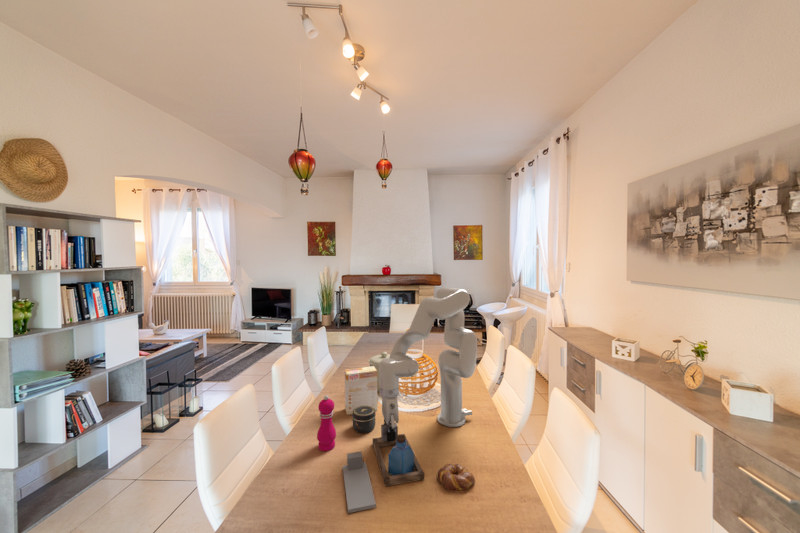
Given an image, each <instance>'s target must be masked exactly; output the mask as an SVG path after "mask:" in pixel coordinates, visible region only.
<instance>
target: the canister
mask: <svg viewBox="0 0 800 533" xmlns="http://www.w3.org/2000/svg"><path fill="white" fill-rule="evenodd" d="M390 354H391V353H390ZM390 354H388V352H387V351H382V352H381V354H376V355H374V356H371V357H370V358H368V364H369V367H371V366H374V367H375V369H376V370H377V393H380V368H379V366H380V361H381V360H383V359H386V358H389V357H390Z"/></svg>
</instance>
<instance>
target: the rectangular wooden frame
mask: <svg viewBox="0 0 800 533" xmlns="http://www.w3.org/2000/svg"><path fill="white" fill-rule="evenodd" d="M390 427H391V425H389V428H390ZM398 430H399V426H398V423H396V422H395V441H390V442H387V431H388V427H387V424H384V423H383V424H381V425H380V432H381V434H380V436H381V437H374V438H372V446H373V449H374V453H375V457H376V459H377V463H378V466H379V470H380V472H381V476H382V480H383V483H384V486H385V487H391V486H395V485H401V484H406V483H411V482H417V481H423V480H425V472H424V470H423V468H422V465H421V464H420V462H419V460H418V458H417V456H416V454H415V453H414V471H412V472H410V473H405V474H399V475H394V476H393V475H390V474H389V473H388V469H387V466H386V463H385V461H384V460H385V459H384V458H383V454H382V452H381V448H382V447H388V446H395V445H396V439H397V438H396V437H397V435H405V437H406V434H405V433H401V434H399V431H398ZM405 439H406V445H408V446H410V448H411V449H412V451H413V452H414V450H413V448H412V446H411V444H410V442H409V440H408V439H407V437H406V438H405Z"/></svg>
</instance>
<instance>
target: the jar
mask: <svg viewBox="0 0 800 533" xmlns="http://www.w3.org/2000/svg"><path fill="white" fill-rule="evenodd" d="M351 415H352V416H351V417H352V428H353V430H354V432H356V433H359V434H367V433H371V432H372V431H373V430H374V429H375V426H376V410H375V409H374V408H373V407H371V406H359V407H356V408H355V409H354V410H353V413H352V414H351Z"/></svg>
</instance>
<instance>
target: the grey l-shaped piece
mask: <svg viewBox="0 0 800 533" xmlns="http://www.w3.org/2000/svg"><path fill="white" fill-rule="evenodd" d="M362 452H363V451H356V452H350V453H349V452H348V453H346V464H345V465H342V476H343V481H344V490H345V497H346V499H345V500H346V506H347V514H351V513H355V512H360V511H365V510H371V509H375V508H377V507H376V506H377V505H376V504H377V502H376V499H375V496H374V491H373V487H372V482H371V478H370V474H369V470H368V465H367V462H366V461H363V460H364V459H363V457H364V456H363V453H362Z"/></svg>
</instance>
